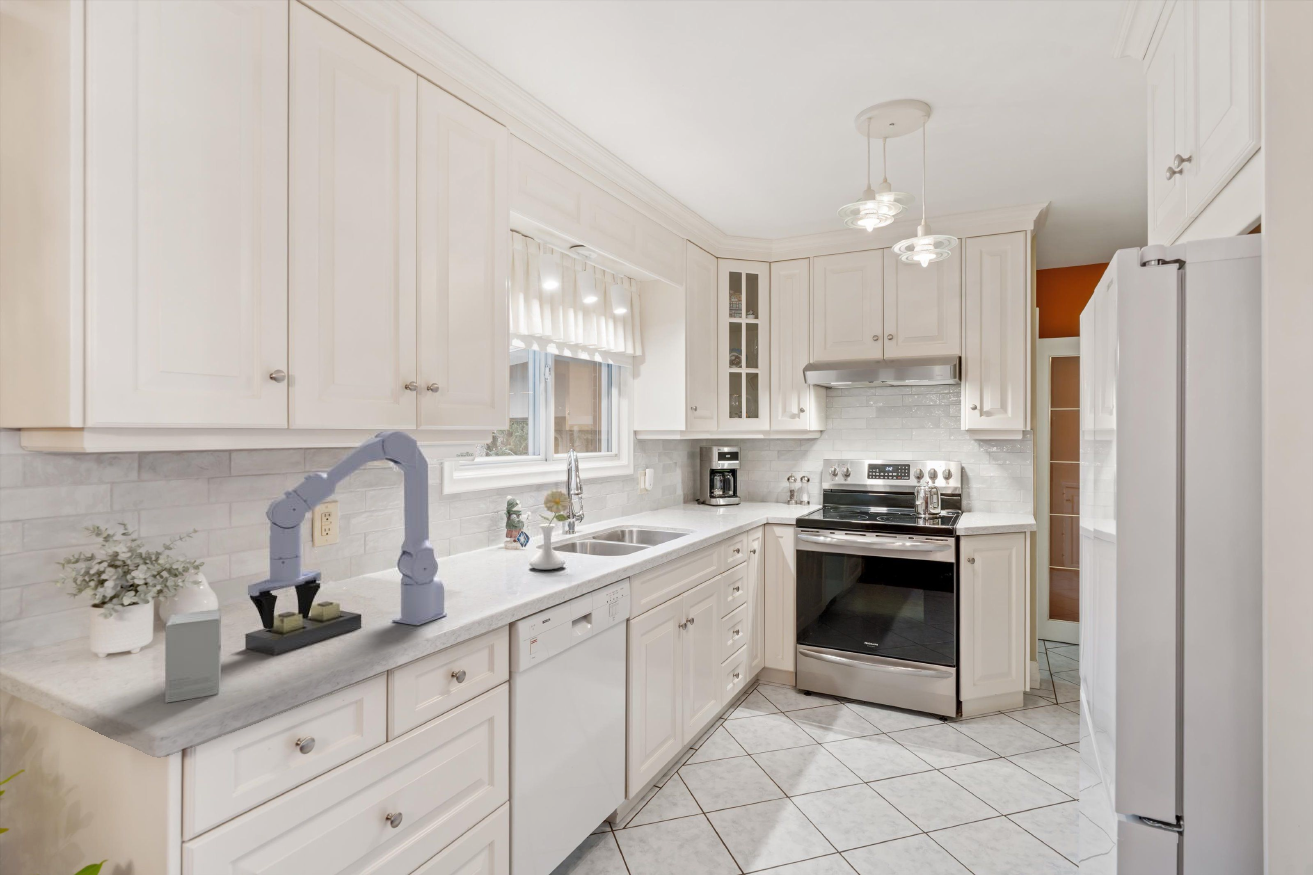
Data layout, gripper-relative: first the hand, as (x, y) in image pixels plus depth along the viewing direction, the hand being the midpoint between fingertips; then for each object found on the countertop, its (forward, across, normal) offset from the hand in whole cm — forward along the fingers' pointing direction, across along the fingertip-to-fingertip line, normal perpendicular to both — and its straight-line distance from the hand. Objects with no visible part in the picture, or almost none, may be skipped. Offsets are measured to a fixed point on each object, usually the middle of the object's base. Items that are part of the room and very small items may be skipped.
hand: (286, 622), depth 133 cm
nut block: (+4, 0, 0) cm, 4 cm away
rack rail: (+4, -4, 0) cm, 6 cm away
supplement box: (+4, +23, +9) cm, 25 cm away
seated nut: (+4, -9, 0) cm, 10 cm away
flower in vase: (+5, -84, +6) cm, 85 cm away
